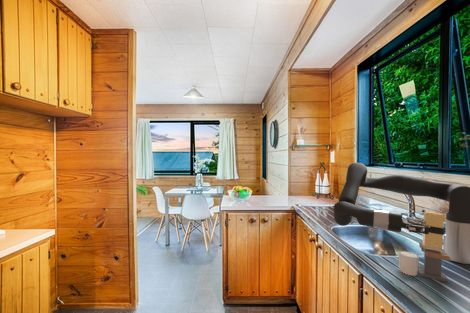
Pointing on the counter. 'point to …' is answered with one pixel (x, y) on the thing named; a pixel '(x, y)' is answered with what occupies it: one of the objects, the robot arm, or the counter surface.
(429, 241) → the block
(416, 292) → the counter surface
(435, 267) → the beam stand
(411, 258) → the beige short cylinder
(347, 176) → the robot arm
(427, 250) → the beam
